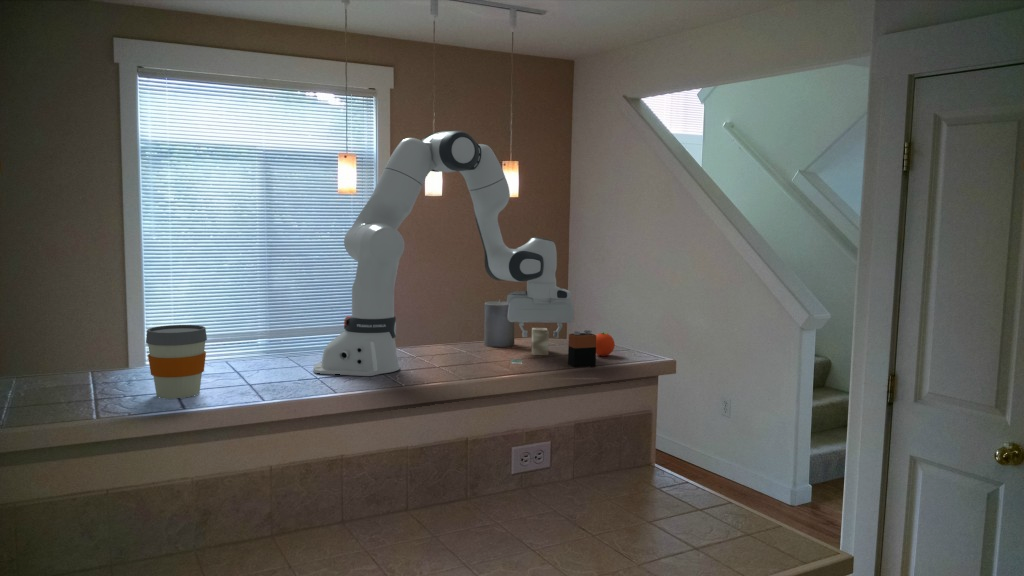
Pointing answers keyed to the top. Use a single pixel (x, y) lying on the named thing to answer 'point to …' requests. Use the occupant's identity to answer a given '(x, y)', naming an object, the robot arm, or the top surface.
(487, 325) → the pillar candle
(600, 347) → the clementine
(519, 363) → the board
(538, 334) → the block
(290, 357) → the top surface
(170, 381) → the reusable coffee cup
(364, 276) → the robot arm
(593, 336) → the battery
